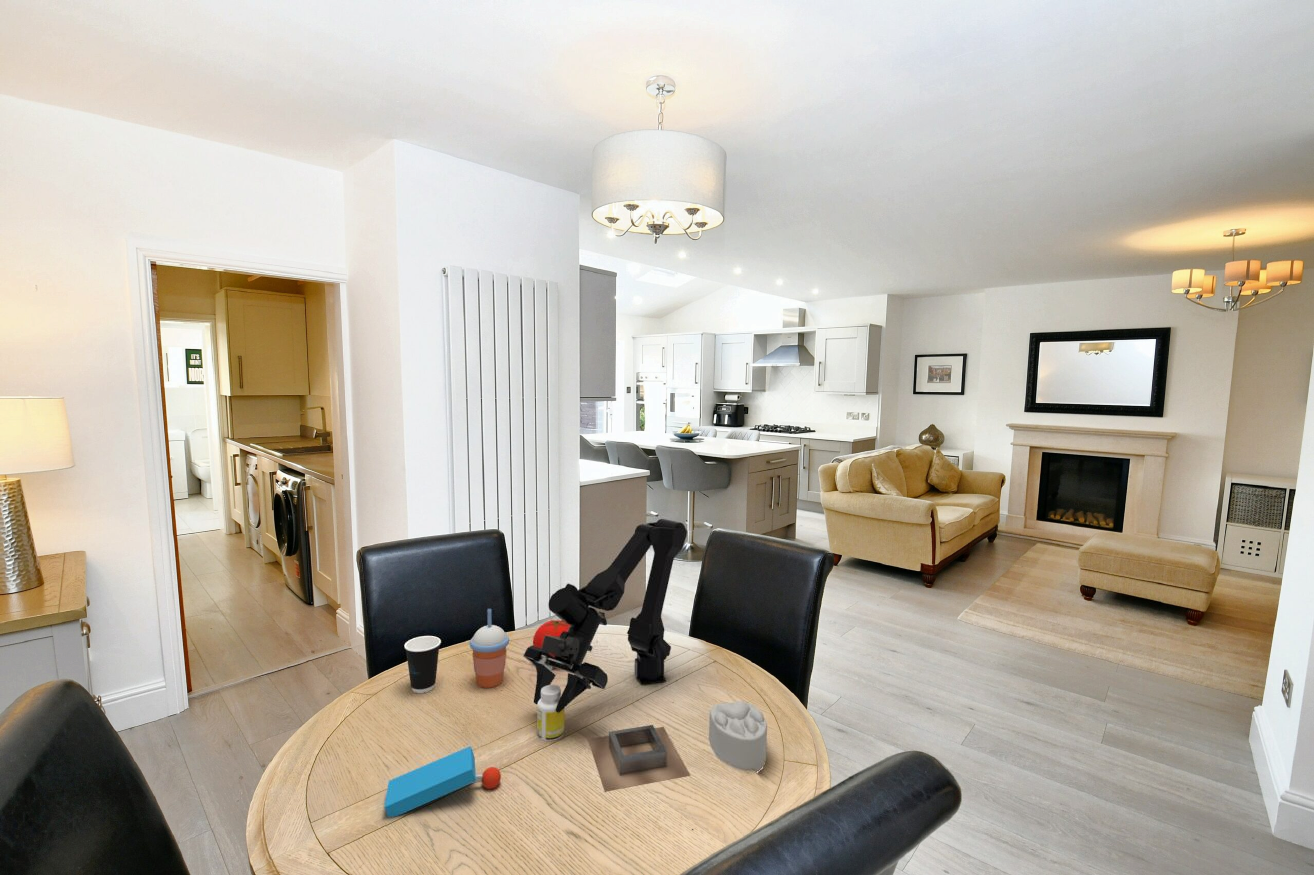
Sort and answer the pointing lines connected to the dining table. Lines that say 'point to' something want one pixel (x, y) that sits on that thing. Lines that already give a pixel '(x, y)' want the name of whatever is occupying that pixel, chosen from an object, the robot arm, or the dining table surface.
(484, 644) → the cup with straw
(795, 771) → the dining table surface
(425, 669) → the dixie cup
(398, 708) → the dining table surface
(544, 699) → the supplement bottle
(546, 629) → the tomato
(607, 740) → the walnut board
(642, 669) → the robot arm
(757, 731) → the lumpy-topped squat cylinder
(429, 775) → the lever
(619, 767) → the metal collar
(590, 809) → the dining table surface
